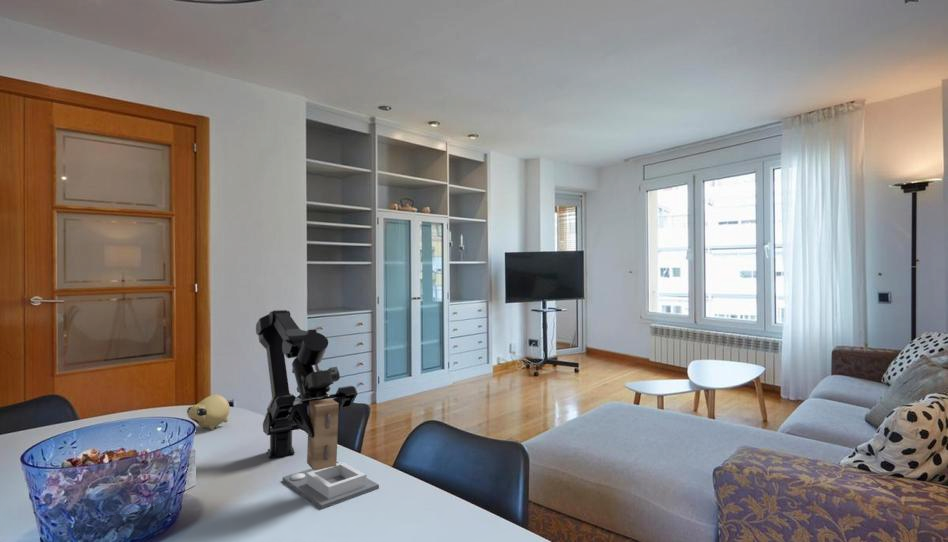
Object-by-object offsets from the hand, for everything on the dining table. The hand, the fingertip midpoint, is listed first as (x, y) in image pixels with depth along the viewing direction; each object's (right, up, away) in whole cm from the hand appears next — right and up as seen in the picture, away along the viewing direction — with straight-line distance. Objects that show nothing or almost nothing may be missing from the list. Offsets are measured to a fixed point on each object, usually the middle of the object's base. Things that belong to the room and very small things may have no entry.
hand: (325, 434), depth 104 cm
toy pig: (-53, -15, +48) cm, 73 cm away
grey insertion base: (-1, -14, +5) cm, 15 cm away
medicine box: (-36, -14, +4) cm, 39 cm away
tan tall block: (-1, -7, +1) cm, 7 cm away
